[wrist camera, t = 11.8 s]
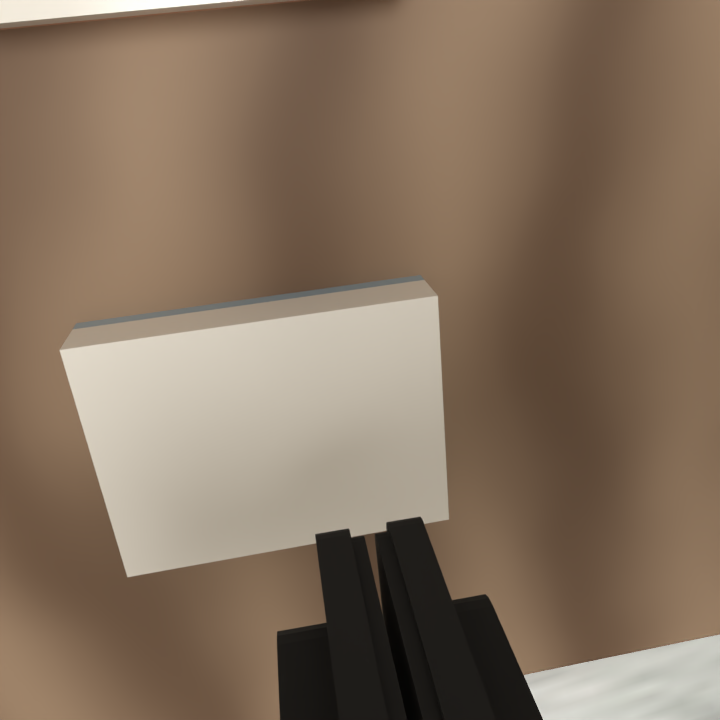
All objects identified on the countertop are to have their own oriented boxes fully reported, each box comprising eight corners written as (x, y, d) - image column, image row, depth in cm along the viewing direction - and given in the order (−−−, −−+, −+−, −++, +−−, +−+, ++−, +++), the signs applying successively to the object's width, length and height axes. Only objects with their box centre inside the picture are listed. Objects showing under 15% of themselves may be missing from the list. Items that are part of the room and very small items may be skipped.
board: (890, -685, 12) (972, -779, 11) (703, 600, 25) (730, 631, 23) (-642, -704, 10) (-785, -829, 8) (6, 740, 22) (-9, 785, 21)
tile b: (437, 295, 15) (59, 350, 14) (448, 519, 17) (127, 577, 17) (420, 274, 16) (76, 322, 16) (432, 484, 19) (136, 535, 18)
